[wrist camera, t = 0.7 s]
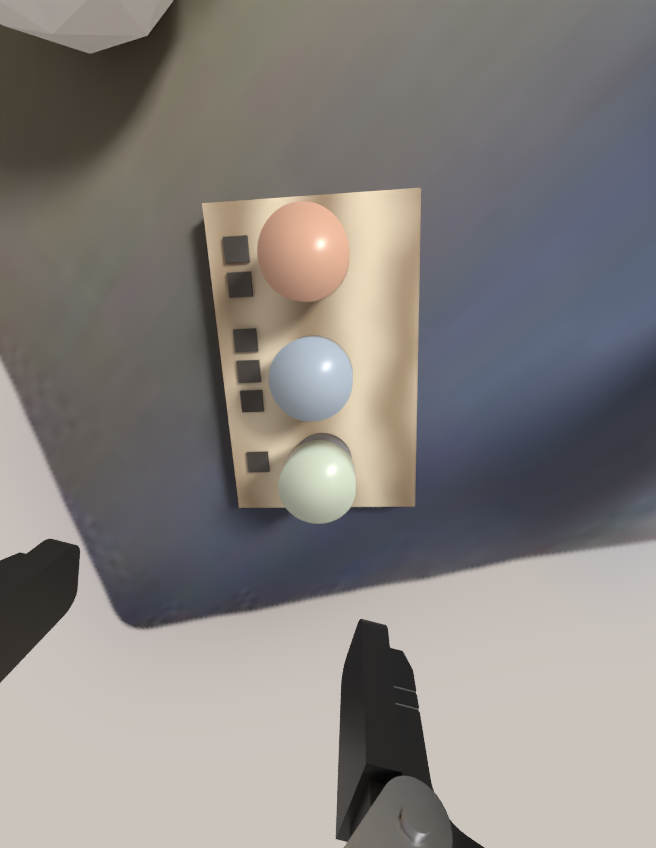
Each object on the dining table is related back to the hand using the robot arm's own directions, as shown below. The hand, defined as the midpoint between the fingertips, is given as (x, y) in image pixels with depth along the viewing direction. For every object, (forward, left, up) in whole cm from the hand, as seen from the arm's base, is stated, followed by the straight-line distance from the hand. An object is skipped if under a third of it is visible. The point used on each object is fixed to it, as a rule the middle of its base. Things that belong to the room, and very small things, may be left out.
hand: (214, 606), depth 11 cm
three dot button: (-1, -4, -16) cm, 17 cm away
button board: (-1, -4, -21) cm, 21 cm away
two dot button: (-1, -11, -16) cm, 20 cm away
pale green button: (-1, +3, -16) cm, 17 cm away
